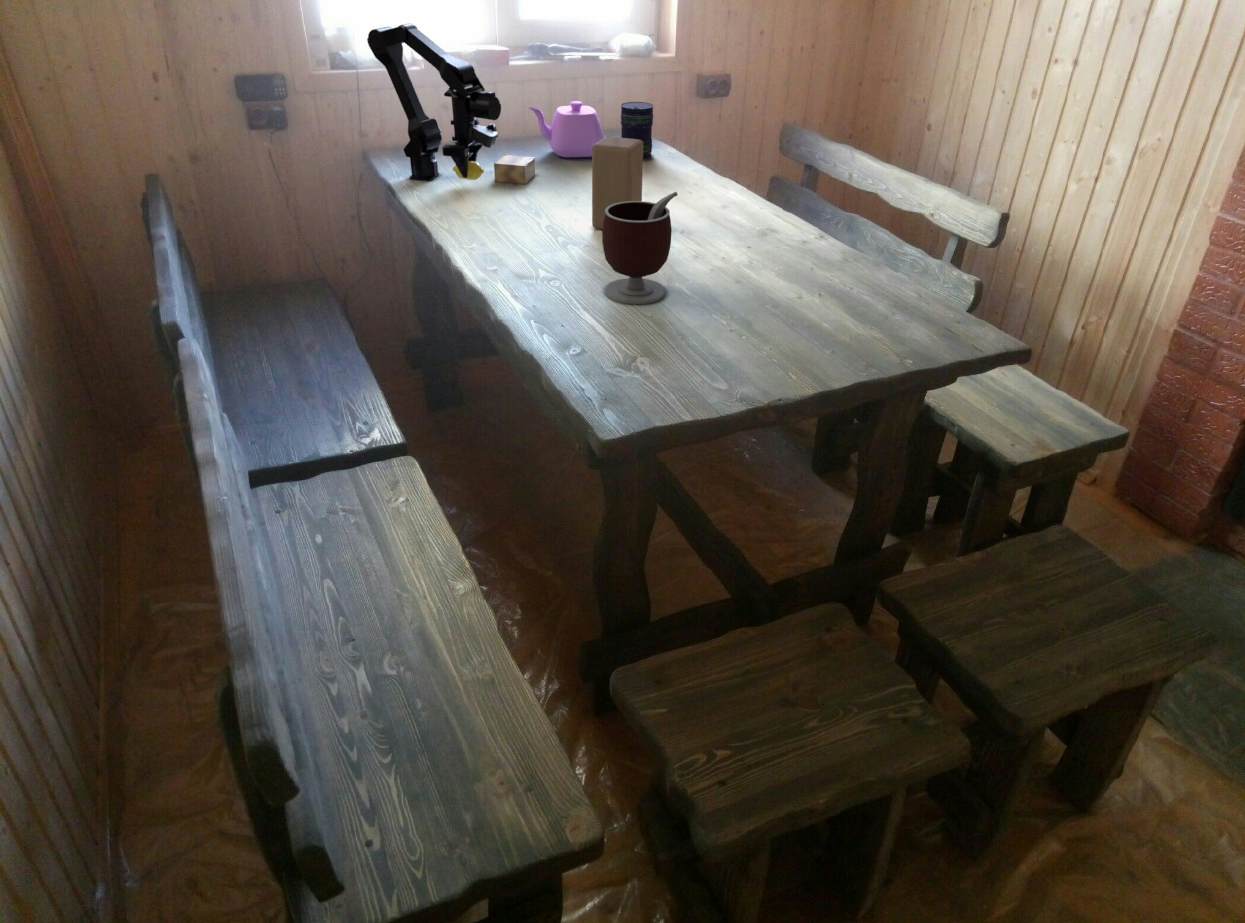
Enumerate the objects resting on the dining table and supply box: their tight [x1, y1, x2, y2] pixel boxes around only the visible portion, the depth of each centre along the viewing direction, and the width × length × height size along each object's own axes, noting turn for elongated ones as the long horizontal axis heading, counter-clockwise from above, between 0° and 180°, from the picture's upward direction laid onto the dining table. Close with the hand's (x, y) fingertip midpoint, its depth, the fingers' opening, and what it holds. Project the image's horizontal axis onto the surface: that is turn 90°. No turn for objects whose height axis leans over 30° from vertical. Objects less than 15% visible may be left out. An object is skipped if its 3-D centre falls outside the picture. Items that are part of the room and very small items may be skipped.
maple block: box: [493, 154, 536, 185], centre depth 247 cm, size 9×9×5 cm
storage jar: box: [620, 101, 654, 162], centre depth 265 cm, size 10×10×15 cm
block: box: [591, 135, 644, 230], centre depth 211 cm, size 10×10×20 cm
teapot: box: [527, 100, 604, 159], centre depth 268 cm, size 23×21×15 cm
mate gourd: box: [601, 191, 678, 305], centre depth 177 cm, size 16×14×20 cm
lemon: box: [452, 161, 485, 181], centre depth 240 cm, size 9×5×5 cm, turn 77°
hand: (468, 175), depth 241 cm, fingers closed on lemon, 5 cm apart
